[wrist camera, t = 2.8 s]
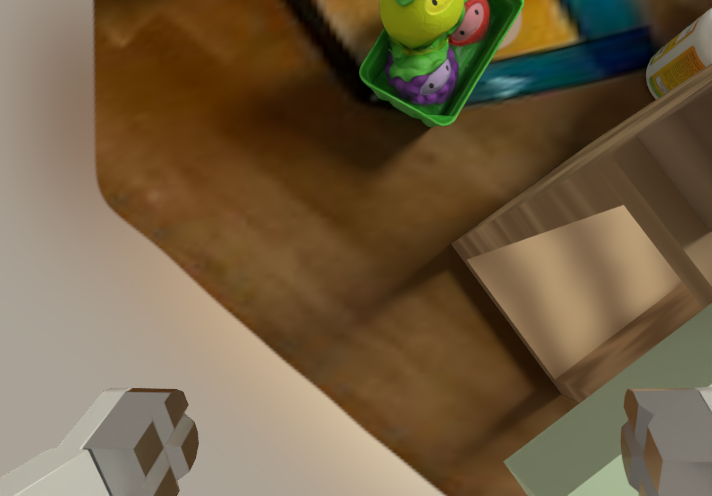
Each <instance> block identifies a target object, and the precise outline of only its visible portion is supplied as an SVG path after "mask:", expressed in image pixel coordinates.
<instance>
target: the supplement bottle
mask: <svg viewBox="0 0 712 496" xmlns="http://www.w3.org/2000/svg"><path fill="white" fill-rule="evenodd" d="M710 64H712V8H711V9H710V10H708V11H707V12H705V13H704V14H703V15H702V16H701V17H699V18H698V19H697V20H696V21H694V22H693V23H692V24H691V25H690V26H688V27H687V28H686V29H684V30H683V31H682V32H681V33H680V34H678V35H677V36H676V37H675V38H674V39H672V40H671V41H670V42H668V43H667V44H666V45H665V46H663V47H662V48H661V49H660V50H659V51H658V52H657V53H656V54H655V55H654V56H653V57H652V58H651V60H650V62H649V64H648V66H647V70H646V81H647V86H648V88H649V90H650V92H651V94H652V95H653V97H654V98H655V99H658V98H660V97H661V96H663V95H664V94H666V93H667V92H669V91H670V90H672V89H673V88H675V87H676V86H678V85H679V84H681V83H682V82H684V81H686V80H687V79H689V78H690V77H692V76H693V75H695V74H696V73H698V72H699V71H701V70H702V69H704V68H705V67H707V66H708V65H710Z"/></svg>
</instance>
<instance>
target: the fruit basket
mask: <svg viewBox="0 0 712 496" xmlns="http://www.w3.org/2000/svg"><path fill="white" fill-rule="evenodd" d="M523 6H524V0H380V3H379V10H380V16H381V20H382V23H383V25H384V29H383V31H382V32H381V34H380V35H379V37H378V39H377V40H376V42H375V44H374V45H373V47H372V49H371V50H370V52H369V53H368V55H367V57H366V58H365V60H364V61H363V63H362V65H361V66H360V70H359V75H360V77H361V79H362V81H363V82H364V83H365V84H366V85H367V86H368V87H370V88H371V89H372V90H373V92H374V93H375V94H376V95H377V97H378V98H380V99H382V100H386V101H389V102H390V103H391V104H392V105H393V106H394V107H396V108H397V109H399V110H401V111H402V112H404V113H406V114H408V115H409V116H411V117H413V118H416V119H421V120H422V122H423V123H424V124H425V125H427V126H428V127H434V126H448V125H450V124H451V123H453V122H454V121H455V119H456V118H457V116H458V114H459V112H460V111H461V109H462V107H463V106H464V104H465V102H466V101H467V99H468V97H469V95H470V94H471V92H472V90H473V89H474V87H475V85H476V84H477V82H478V80H479V79H480V77H481V75H482V74H483V72H484V71H485V69H486V67H487V66H488V64H489V62H490V61H491V59H492V58H493V56H494V54H495V52H496V51H497V49H498V47H499V46H500V44H501V42H502V41H503V39H504V37H505V36H506V34H507V32H508V31H509V29H510V28H511V26H512V24H513V23H514V21H515V19H516V18H517V16H518V15H519V13H520V11H521V10H522V8H523Z"/></svg>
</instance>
